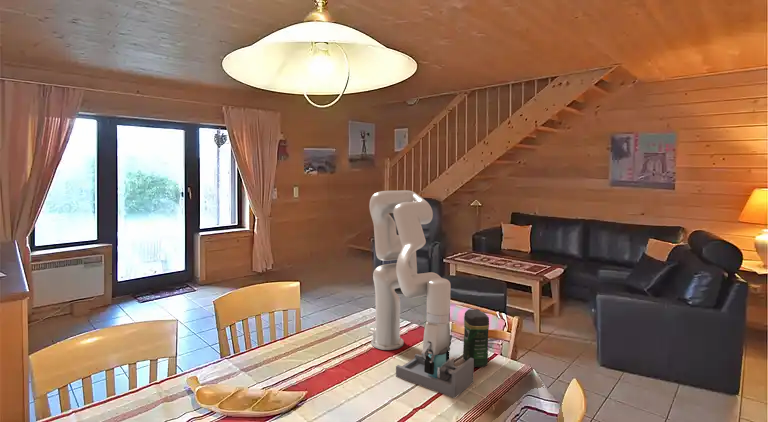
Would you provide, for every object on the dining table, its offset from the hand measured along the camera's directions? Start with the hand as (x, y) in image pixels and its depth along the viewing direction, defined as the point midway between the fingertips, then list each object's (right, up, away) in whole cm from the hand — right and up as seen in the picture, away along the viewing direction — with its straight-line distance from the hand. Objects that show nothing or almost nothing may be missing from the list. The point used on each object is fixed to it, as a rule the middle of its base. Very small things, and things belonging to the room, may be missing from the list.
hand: (436, 367), depth 144 cm
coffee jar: (+15, -3, +14) cm, 21 cm away
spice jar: (0, -3, 0) cm, 3 cm away
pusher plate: (+4, -3, -3) cm, 6 cm away
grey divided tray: (-1, -4, +1) cm, 4 cm away
